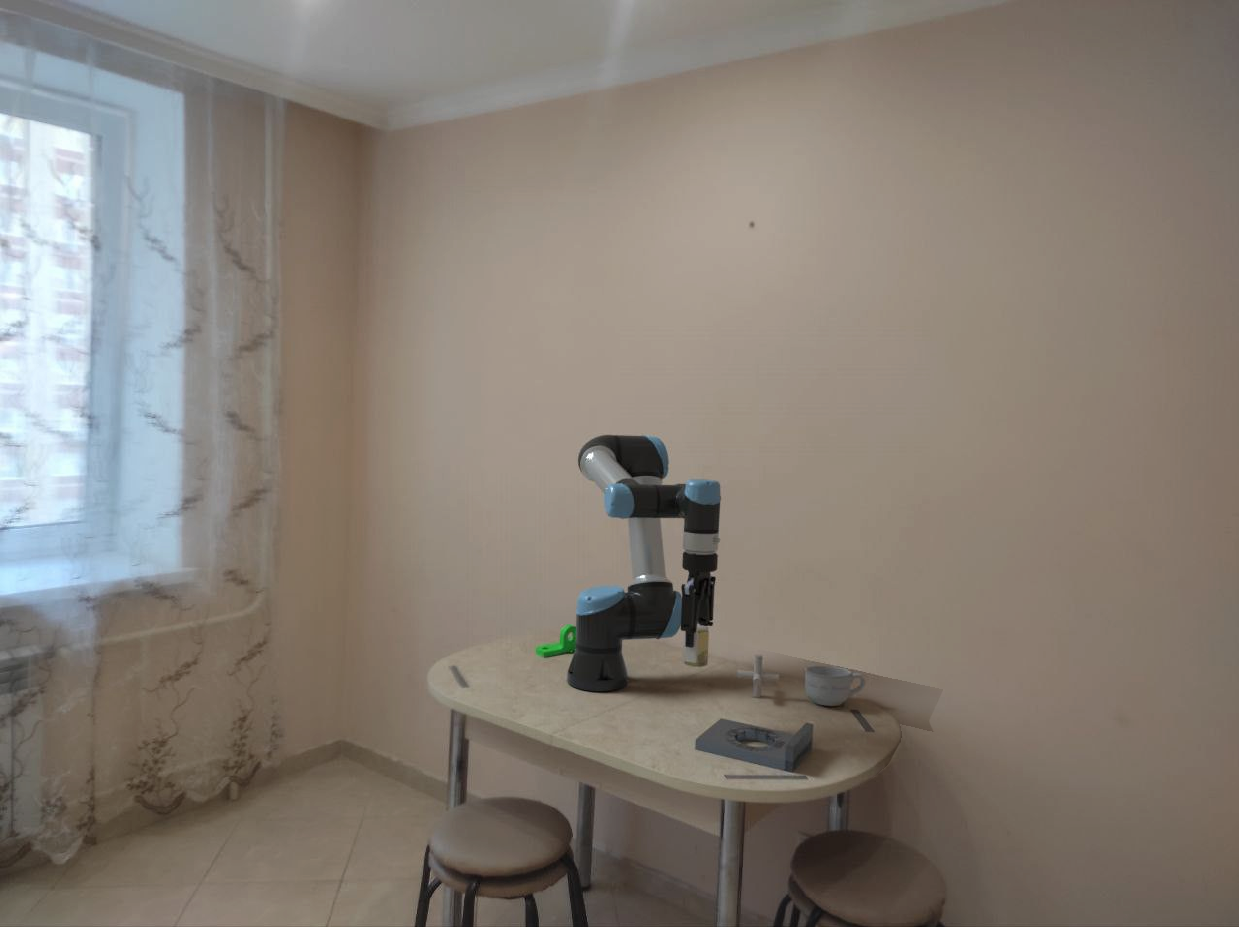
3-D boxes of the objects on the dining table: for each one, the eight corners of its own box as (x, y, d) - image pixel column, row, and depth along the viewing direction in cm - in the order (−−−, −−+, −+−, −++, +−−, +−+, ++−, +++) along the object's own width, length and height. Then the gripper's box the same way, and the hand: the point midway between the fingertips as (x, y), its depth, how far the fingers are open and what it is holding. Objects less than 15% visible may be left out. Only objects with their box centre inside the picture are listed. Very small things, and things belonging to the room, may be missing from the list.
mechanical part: (567, 647, 237) (568, 620, 236) (579, 653, 232) (580, 624, 232) (531, 654, 229) (532, 625, 229) (543, 659, 225) (544, 630, 224)
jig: (695, 748, 167) (696, 724, 167) (720, 727, 180) (721, 704, 179) (792, 772, 158) (793, 746, 158) (812, 747, 170) (813, 723, 170)
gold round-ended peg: (680, 664, 178) (681, 631, 178) (689, 658, 183) (691, 627, 182) (702, 668, 176) (703, 635, 176) (711, 662, 180) (712, 630, 180)
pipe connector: (777, 705, 195) (779, 663, 194) (734, 700, 197) (736, 659, 196) (778, 691, 205) (779, 651, 204) (737, 687, 207) (739, 648, 206)
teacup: (800, 705, 195) (802, 672, 195) (806, 691, 205) (808, 660, 205) (861, 715, 190) (863, 680, 190) (865, 700, 201) (866, 668, 200)
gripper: (700, 559, 168) (695, 671, 170) (731, 548, 184) (727, 651, 186) (666, 554, 172) (662, 665, 173) (700, 544, 188) (696, 646, 189)
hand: (695, 658), depth 179 cm, fingers closed on gold round-ended peg, 5 cm apart
